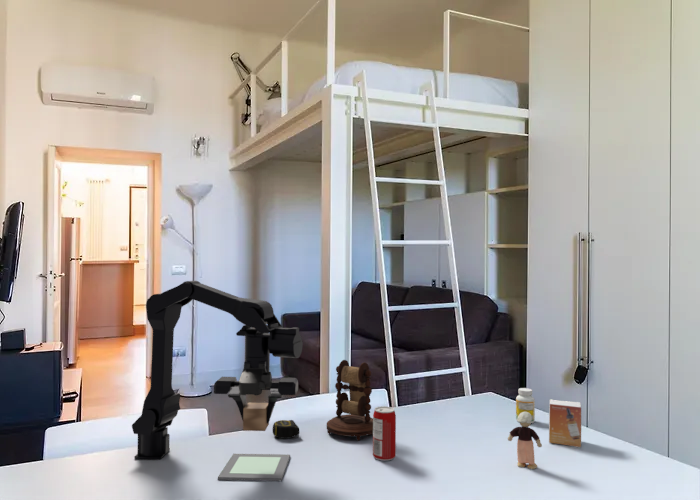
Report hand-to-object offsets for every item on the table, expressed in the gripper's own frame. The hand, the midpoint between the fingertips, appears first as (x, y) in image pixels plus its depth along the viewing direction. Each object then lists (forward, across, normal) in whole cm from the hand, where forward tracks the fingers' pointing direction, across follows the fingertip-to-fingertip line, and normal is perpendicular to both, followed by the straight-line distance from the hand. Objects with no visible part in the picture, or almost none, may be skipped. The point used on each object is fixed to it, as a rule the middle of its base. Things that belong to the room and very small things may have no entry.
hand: (256, 422), depth 122 cm
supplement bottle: (+10, +74, +39) cm, 84 cm away
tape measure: (+11, +4, +23) cm, 26 cm away
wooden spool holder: (+10, +22, +26) cm, 36 cm away
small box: (+10, +79, +21) cm, 82 cm away
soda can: (+10, +30, +8) cm, 33 cm away
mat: (+10, 0, 0) cm, 10 cm away
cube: (+1, 0, 0) cm, 1 cm away
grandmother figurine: (+10, +63, +4) cm, 64 cm away
